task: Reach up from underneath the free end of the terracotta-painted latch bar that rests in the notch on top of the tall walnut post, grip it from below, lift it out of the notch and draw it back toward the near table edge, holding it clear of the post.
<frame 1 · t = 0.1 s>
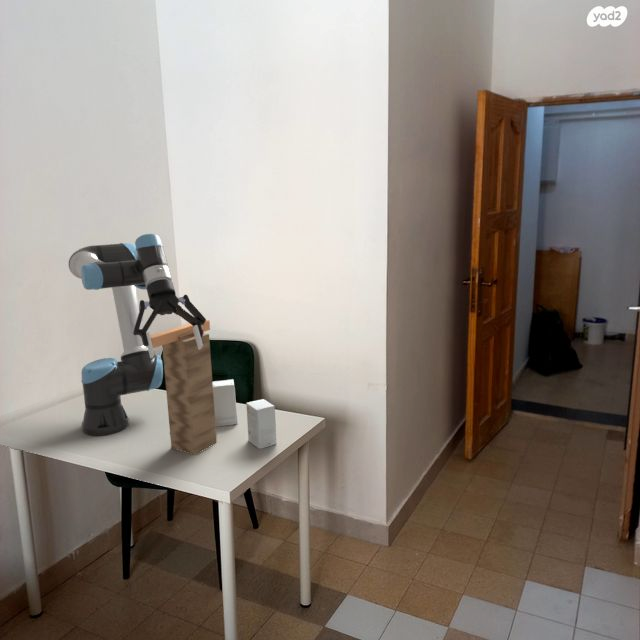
hand: (177, 352, 165), 36 cm above the table, tool tilted 35°, fingers open, 13 cm apart
small box: (262, 443, 191), on the table
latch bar: (179, 337, 180), point 36 cm above the table, touching post
skincare box: (225, 423, 207), on the table
post: (194, 445, 190), on the table
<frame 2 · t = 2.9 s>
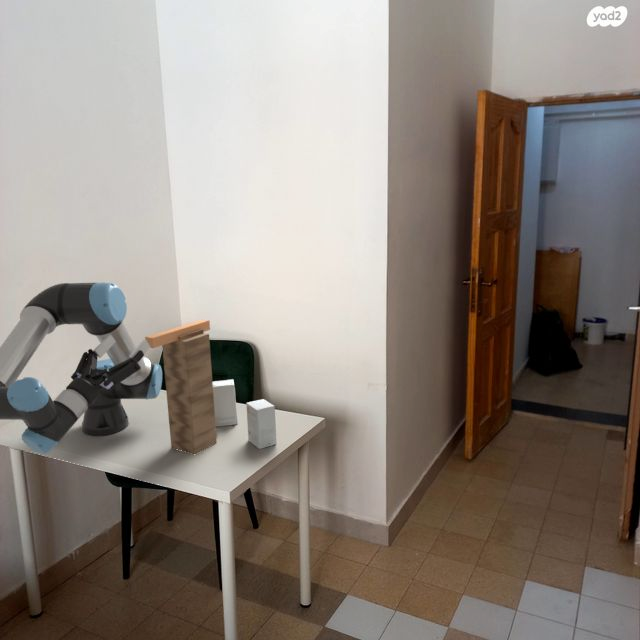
hand: (129, 340, 163), 40 cm above the table, tool pointing upward, fingers open, 13 cm apart
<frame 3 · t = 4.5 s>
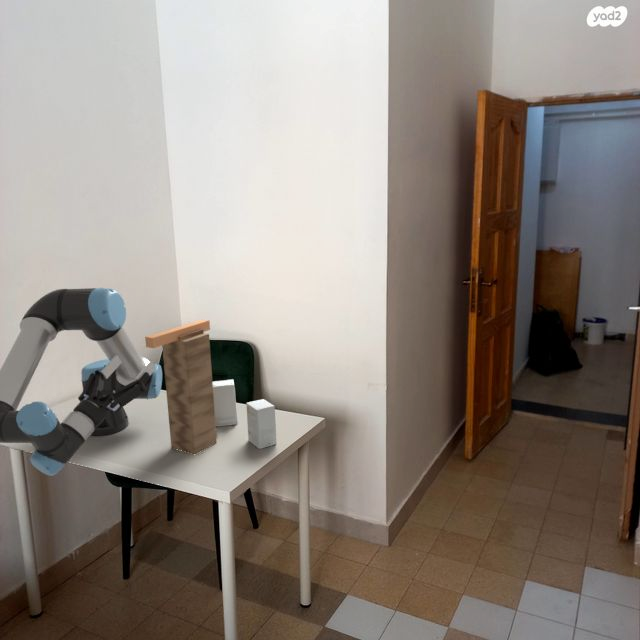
hand: (135, 361, 166), 33 cm above the table, tool pointing upward, fingers open, 13 cm apart
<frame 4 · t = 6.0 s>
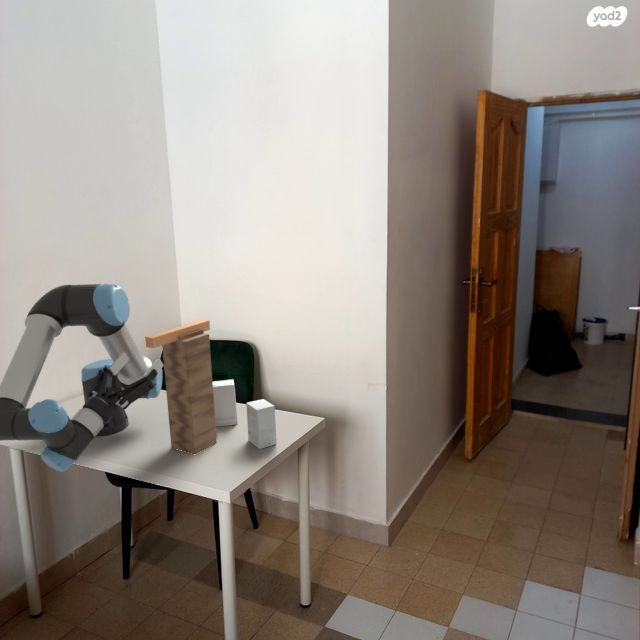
hand: (143, 358, 168), 34 cm above the table, tool pointing upward, fingers open, 13 cm apart
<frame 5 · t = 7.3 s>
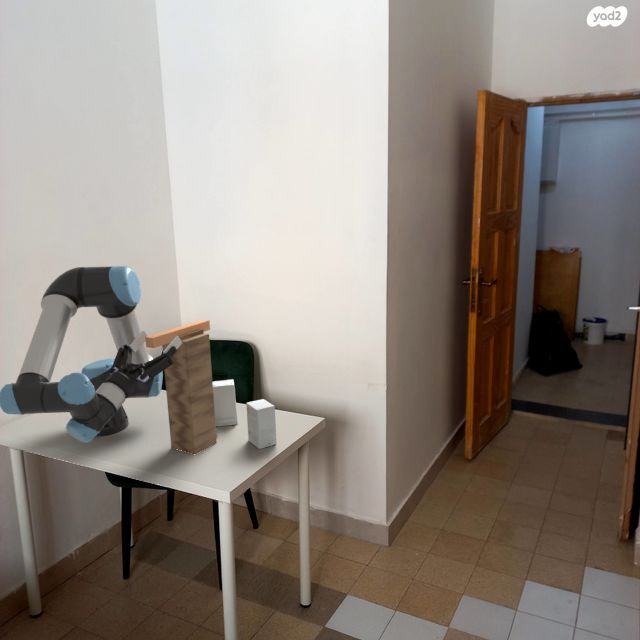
hand: (162, 336, 173), 38 cm above the table, tool pointing upward, fingers open, 13 cm apart
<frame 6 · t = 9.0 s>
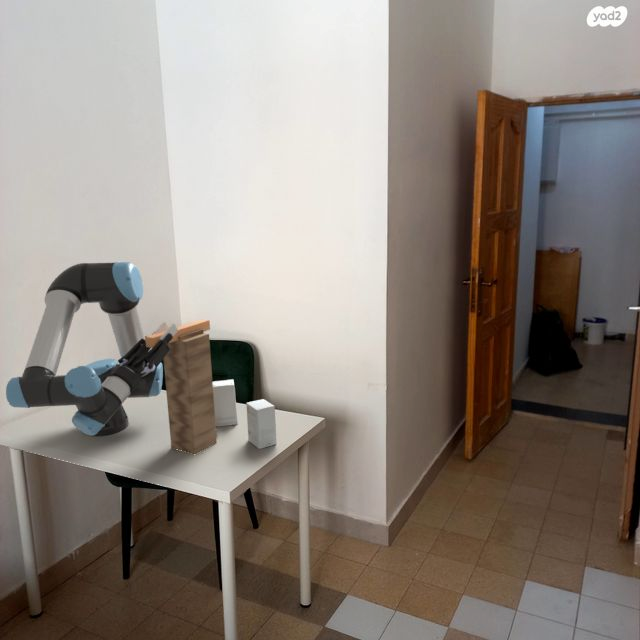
hand: (170, 326, 176), 40 cm above the table, tool pointing upward, fingers closed on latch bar, 3 cm apart
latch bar: (179, 337, 180), point 36 cm above the table, touching gripper
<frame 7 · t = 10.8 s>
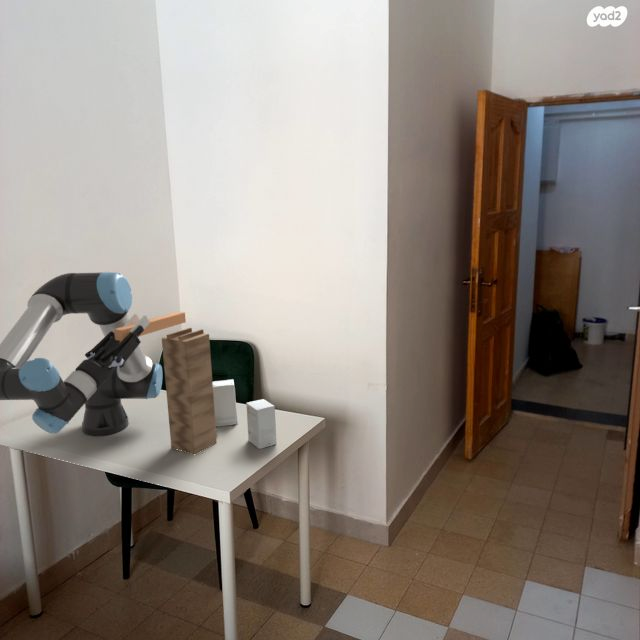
hand: (142, 318, 166), 45 cm above the table, tool pointing upward, fingers closed on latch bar, 3 cm apart
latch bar: (152, 330, 170), point 41 cm above the table, touching gripper
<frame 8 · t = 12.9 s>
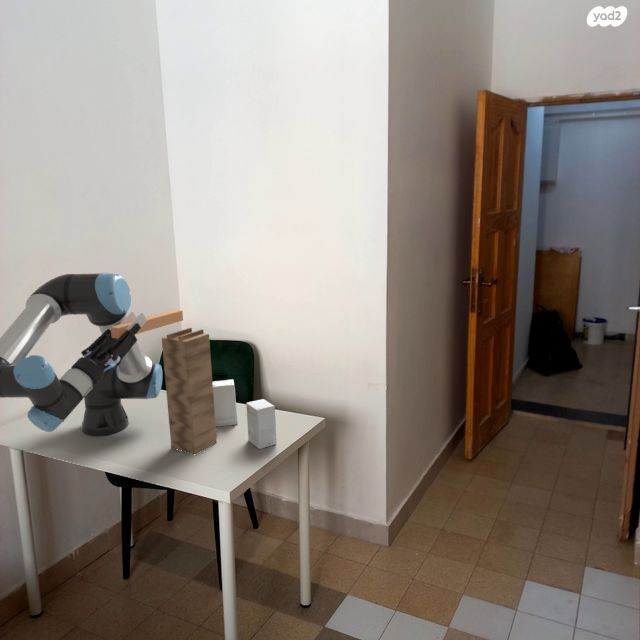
hand: (139, 316, 165), 46 cm above the table, tool pointing upward, fingers closed on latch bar, 3 cm apart
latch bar: (149, 328, 169), point 41 cm above the table, touching gripper
at the end: the gripper is holding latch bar; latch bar point 41.5 cm above the table; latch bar moved 12.7 cm from its start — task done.
